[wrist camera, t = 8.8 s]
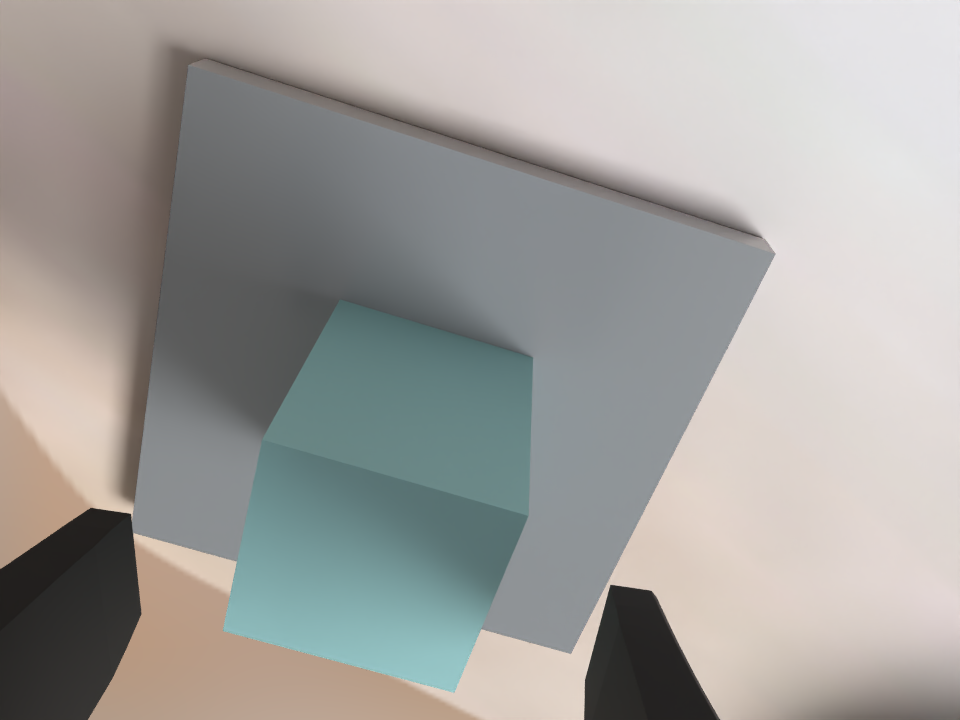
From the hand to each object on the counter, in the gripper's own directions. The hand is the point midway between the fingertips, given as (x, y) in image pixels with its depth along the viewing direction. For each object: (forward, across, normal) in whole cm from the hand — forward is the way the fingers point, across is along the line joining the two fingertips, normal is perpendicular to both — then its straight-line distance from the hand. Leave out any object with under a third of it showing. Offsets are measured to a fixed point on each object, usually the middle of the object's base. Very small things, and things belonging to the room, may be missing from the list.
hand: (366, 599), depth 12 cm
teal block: (+6, 0, 0) cm, 6 cm away
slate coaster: (+6, 0, 0) cm, 6 cm away
